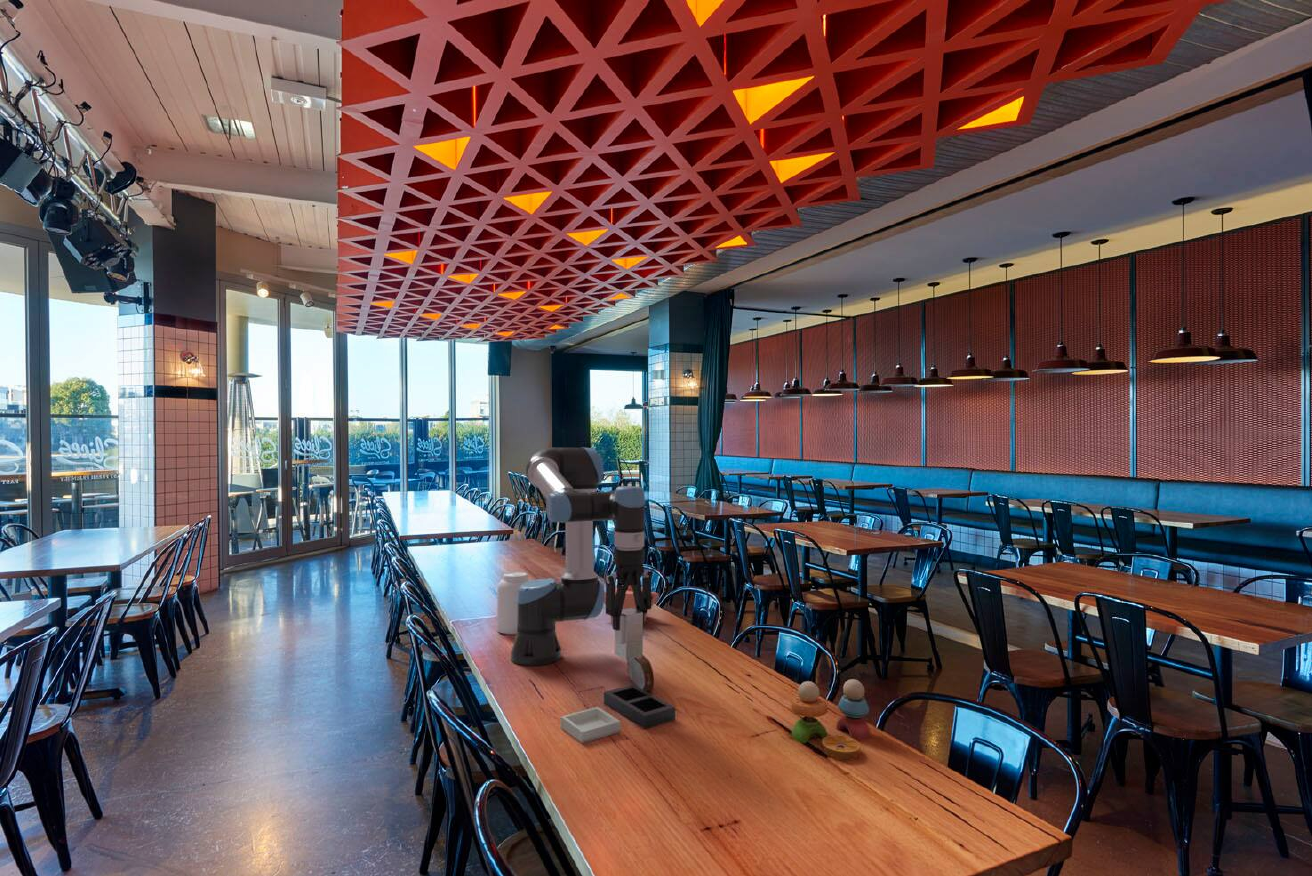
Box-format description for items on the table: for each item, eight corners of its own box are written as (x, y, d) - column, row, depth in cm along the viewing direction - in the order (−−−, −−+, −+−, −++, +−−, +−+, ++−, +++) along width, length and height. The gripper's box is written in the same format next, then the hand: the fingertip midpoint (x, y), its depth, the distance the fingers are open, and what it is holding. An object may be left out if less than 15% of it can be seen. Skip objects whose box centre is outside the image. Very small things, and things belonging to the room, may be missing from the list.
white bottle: (540, 628, 232) (541, 572, 232) (515, 637, 222) (515, 578, 222) (514, 623, 239) (515, 568, 239) (489, 631, 228) (489, 574, 229)
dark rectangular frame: (603, 703, 167) (603, 691, 167) (633, 695, 172) (633, 684, 172) (644, 729, 152) (644, 716, 152) (675, 719, 157) (675, 707, 157)
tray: (560, 727, 153) (560, 716, 153) (597, 717, 158) (597, 706, 158) (582, 743, 144) (582, 732, 144) (620, 732, 150) (620, 721, 150)
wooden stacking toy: (834, 766, 136) (835, 706, 136) (783, 733, 151) (784, 679, 151) (898, 749, 143) (899, 692, 143) (844, 719, 159) (844, 667, 159)
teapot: (658, 627, 236) (658, 588, 236) (597, 626, 236) (597, 587, 236) (658, 612, 256) (659, 577, 256) (602, 612, 256) (602, 576, 256)
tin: (655, 695, 173) (655, 663, 173) (643, 696, 172) (644, 664, 172) (635, 675, 187) (635, 646, 187) (624, 677, 186) (625, 647, 186)
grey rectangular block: (614, 654, 165) (615, 611, 165) (631, 650, 168) (631, 608, 168) (625, 660, 161) (626, 615, 161) (642, 656, 164) (642, 612, 164)
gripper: (607, 553, 156) (606, 651, 156) (666, 546, 167) (666, 638, 167) (590, 549, 162) (590, 643, 162) (649, 543, 173) (648, 631, 173)
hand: (628, 640), depth 165 cm, fingers closed on grey rectangular block, 5 cm apart
